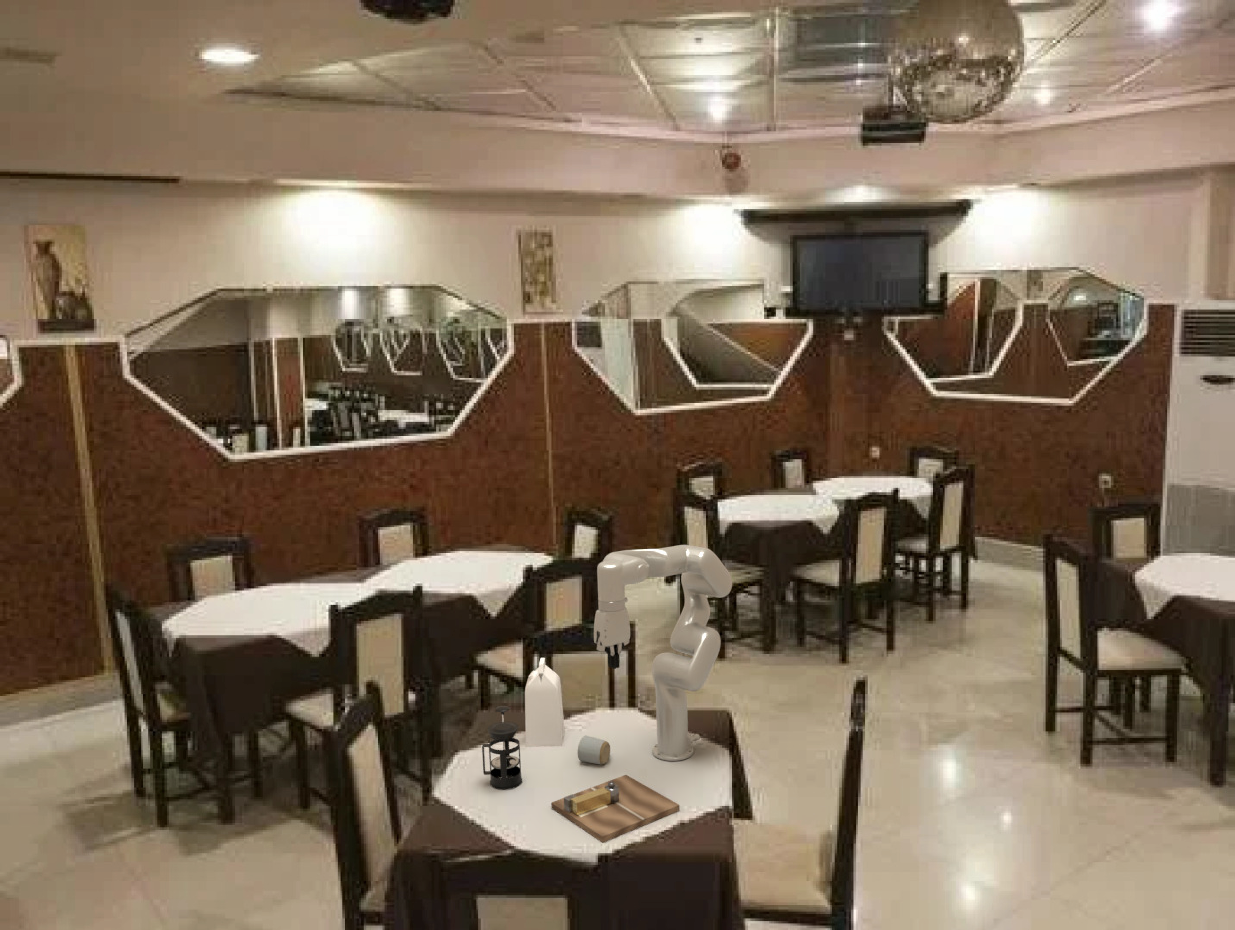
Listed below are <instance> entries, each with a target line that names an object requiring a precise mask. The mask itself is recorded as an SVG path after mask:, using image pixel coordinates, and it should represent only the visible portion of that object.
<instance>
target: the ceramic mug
mask: <svg viewBox="0 0 1235 930" xmlns="http://www.w3.org/2000/svg"><path fill="white" fill-rule="evenodd" d="M577 746H578V747H577V758H578V760H579V762H584V763H589V764H596V765H605V764H606V763H607V762H608V761H609V758H610V754H611V745H610V743H609V742H608V741H607V740H605V739H600V738H597V737H593V736H589V735H584V736H582V737H581V739H580V740H579V743H578V745H577Z"/></svg>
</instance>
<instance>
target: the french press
mask: <svg viewBox="0 0 1235 930" xmlns="http://www.w3.org/2000/svg"><path fill="white" fill-rule="evenodd" d="M494 710H495V712H499V713H500V714H501V718H502V721H498V722H495V723H492V724H491V725H489V726H488V728H487V732H488V733H489V738H490V739H492V740H491V741H489V743H483V744H482V746H481V753H482V754H481V755H482V767H483V768H482V770H483V771H482V772H483V775H484V776H487V775H488V776H490V780H489V784H490V786H491V788H493V789H495V790H505V791H507V790H513V789H515V788H517V787H519V786H521V784H522V783H523V778H522V766H521V764H522V763H521V748H520V747H521V744H520V740H519V739H517V738H515V736H516V733H517V732H518V730H519V729H520V726H519V724H518V723H516V722H513V721H504V720H505V719H504V715H505V712H508V711H509V710H510V706H507V705H500V706H497V707H496V708H494ZM498 743H502V748H503V749H496V748H493V747H492V746H494V745H496V744H498ZM510 743H514V744H517V745H516V746H514V747H512V748H510ZM485 748H488V753H489V754H488V755H489V770H488V771H487V770H486V761H485V760H486V759H485V757H486V756H485ZM517 751H518V757H517V756H515V755H510V754H513V753H516V752H517ZM491 753H492V754H495V755H499V756H497V757H495V758H493V759H492V754H491Z"/></svg>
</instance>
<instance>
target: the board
mask: <svg viewBox="0 0 1235 930" xmlns="http://www.w3.org/2000/svg"><path fill="white" fill-rule="evenodd" d="M610 781H613V782H615V785H618V786H619V801H618V802H615V803H610V804H607V805H604V806H601V807H599V808H596V809H593V810H590V811H588V812H585V813H582V814H579V815H576V814H575V813H573V812H572V811H571V799H572V798H575V797H578V796H580V795H583V794H586V793H589V792H592V791H595V790H598V789H600V788H603V787H605V786H606V785H608V782H610ZM550 804H551V806H550V807H551V809H552V810H554V811H555V812H557V813H558V814H560V815H561V816H563V817H564V818H566V819H567V820H569V821H570V822H572V823H573V824H574V825H576V826H577V827H579V828H580V829H582V830H584V831H585V832H586V833H588V834H589V835H591V836H592V837H594V839H597V840H598V841H600V842H601V843H605V842H607V841H609V840H612V839H615V838H617V837H620V836H621V835H624V834H626V833H629V832H631V831H633V830H636V829H638V828H641V827H642V826H645V825H647V824H648V825H649V824H651V823H653V822H655V821H657V820H659V819H662V818H665V817H667V816H669V815H673V814H674V813H676V812H679V811H680V804H679V803H677V802H676V801H673V800H671V799H670V798H668V797H666V796H664V795H663V794H661V793H659V792H657V791H656V790H654V789H653V788H651V787H649V786H646V785H645V784H644V783H641V782H640V781H638V780H636V779H634V778H633V777H631V776H629V775H628V774H624V775H621V776H619V777H616V778H614V779H610V780H608V781H604V782H603V783H600V784H598V785H594V786H591V787H589V788H587V789H584V790H581V791H578V792H575V793H572V794H570V795H566V796H564V797H563V798H560V799H557V800H555V801H552V802H551V803H550Z"/></svg>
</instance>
